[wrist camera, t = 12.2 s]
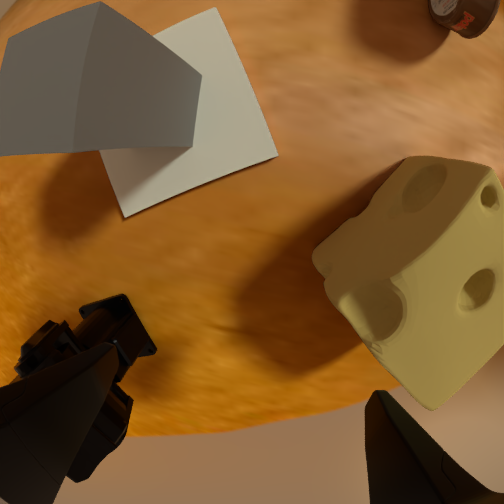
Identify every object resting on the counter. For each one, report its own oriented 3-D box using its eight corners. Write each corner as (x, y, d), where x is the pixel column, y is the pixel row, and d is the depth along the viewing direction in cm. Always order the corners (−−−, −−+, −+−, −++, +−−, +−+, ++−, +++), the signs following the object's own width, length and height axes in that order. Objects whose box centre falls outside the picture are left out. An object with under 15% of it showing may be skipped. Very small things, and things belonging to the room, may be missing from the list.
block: (192, 146, 18) (72, 152, 7) (127, 143, 18) (-10, 157, 7) (202, 75, 16) (100, 1, 5) (136, 77, 17) (8, 38, 5)
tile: (129, 215, 21) (124, 217, 20) (84, 85, 18) (79, 83, 17) (278, 155, 19) (278, 155, 18) (218, 11, 15) (215, 6, 14)
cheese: (308, 250, 21) (324, 332, 11) (410, 145, 17) (500, 151, 8) (390, 330, 22) (429, 418, 13) (477, 243, 19) (553, 297, 9)
